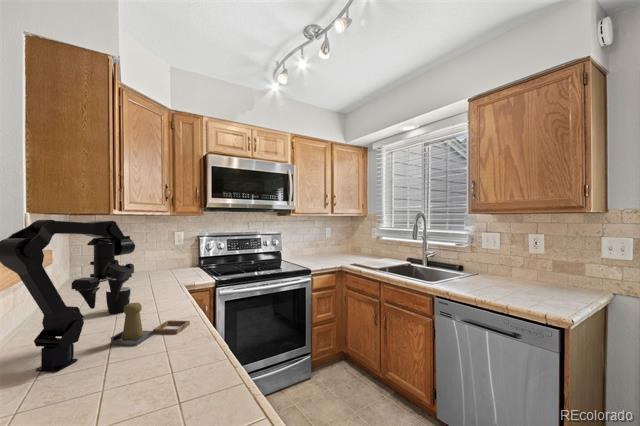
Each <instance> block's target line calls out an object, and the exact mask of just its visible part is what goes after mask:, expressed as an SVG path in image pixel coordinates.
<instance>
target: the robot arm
mask: <svg viewBox="0 0 640 426" xmlns="http://www.w3.org/2000/svg"><path fill="white" fill-rule="evenodd" d="M57 234H58V235H60V234H61V235H63V234H64V235H68V234H69V235H84V236H86V237H92V239H91V240H90V241H89V242H88V243H87V244H86V245H87V246H93V261H90V262H89V264H90V266H93V273H90V274H89V277H81V278H77V279H74V280H73V281H71V290H74V291H75V292H78V294H79V295H81V297H82V298H83V299H84V301H85V302H86V304H87V305H88V307H89V308H90V309H92V310H93V309H95V308H96V301H97V300H96V299H97V292H98V291H99V290H100V289H101V288H100V283H103V282H107V281H108V286H109V289H110V291H111V296H112V299H113V300H117V298H118V295H119V292H120V290H121V287H123V285H124V284H125V283H126V282H127V281H129V280H130V278H132V277H133V274H135V265H134V263H131V262H130V263H129V262H128V263H125V265H124V264H122V265H121V264H120V263H119V262H120V261H119V260H118V259H116V257H118V256H124V255H129V254H132V253H134V251H135V249H136V244H135V242H134V240H132V239H131V236H130V235H124V233H123V232H122V230H121V228H120V227H119V225H118V224H117V221H115V220H94V221H93V220H92V221H86V222H82V221H81V222H80V221H67V220H66V221H64V220H54V219H37V220H35V221H33V222H32V223H31V224H29V225H28V226H26V227H24V228H22V229H20V230H18V231H16V232H14V233H12V234H10V236H8V237H7V238H4V239H1V240H0V263H1V264H2V265H3V266H4V267H6V268H7V269H8V270H11V271H12V272H14V274H15V273H16V274H17V275H18V277H19V279H20V280H21V281H22V283H23V285H24V286H25V287H26V290H27V291H28V292H29V294H30V296H31V297H32V298H33V300H34V302H35V304H37V306H38V308H39V309H40V312H41V313H42V314H43V318H42V321H41V323H42V328H43V329H42V330H41V331H39V334H38V335H37V336H36V337H35V338H34V340H33V342H34V344H35V347H37V348H39V347H42V348H41V350H40V351H41V353H40V354H41V355H40V357H41V359H40V361H41V363H40V366H39V367H38V368H36V369H35V372H49V373H50V372H53V373H58V372H60V371H61V370H62V369H64V368H65V369H66V367H69V366H70V365H72V364H74V363H76V362H78V358H74V355H75V354H74V352H75V350H74V349H75V346H74V344H75V343H79V340H80V337H81V334H82V330H83V327H84V323H85V320H84V318H85V315H83V314H82V313H81V309H80V308H79V306H67V305H66V303H65V302H64V300H63V299H62V297H61V295H60V292H59V291H58V290H57V288H56V286H55V285H54V283H53V282H52V280H51V278H50V275H48V272H47V271H46V270H45V267H44V266H43V265H44V264H43V263H44V258H45V253H44V251H43V250H44V249H45V248H46V247H47V246H48V245H49V244H50V243H51V241H52V238H53V236H55V235H57Z"/></svg>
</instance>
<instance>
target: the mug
mask: <svg viewBox="0 0 640 426" xmlns="http://www.w3.org/2000/svg"><path fill="white" fill-rule="evenodd" d="M105 299H106V300H105V301H106V307H107V311H108V313H109V315H117V314H118V315H119V314H123V313H124V307H125V306H126V305H127V304H130V301H131V287H130V286H122V287H121V290H120V292H119V295H118V298H117V300H113V299H112V296H111V291H110V288H108V289H107V290H106V291H105ZM124 314H125V313H124Z"/></svg>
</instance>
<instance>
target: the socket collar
mask: <svg viewBox="0 0 640 426" xmlns="http://www.w3.org/2000/svg"><path fill="white" fill-rule="evenodd" d="M190 325H191V321H190V320H166V321H165V322H163V323H161V324H160V325H158V326H156V327H154V328H153V329H152V331H153V335H155V334H157V335H158V334H159V335H161V334H162V335H178V334H179V333H180V332H181V331H183V330H185V329H186V328H188V327H189V326H190ZM168 326H178V327H177V328H166V327H168Z"/></svg>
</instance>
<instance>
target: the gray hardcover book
mask: <svg viewBox="0 0 640 426" xmlns="http://www.w3.org/2000/svg"><path fill="white" fill-rule="evenodd" d="M142 331H143V335H141V336H139V337H137V338H133V339H123V338H122V336H123V330H122V331H121V332H118V333H117V334H114V335H113V336H110V345H111V346H138V345H140V344H141V343H144V342H145V341H147V340H148V339H149V338H151V337H153V336H154V334H153V330H142Z"/></svg>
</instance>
